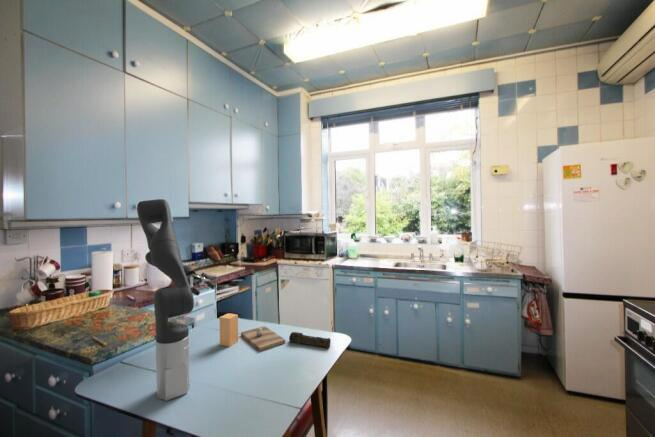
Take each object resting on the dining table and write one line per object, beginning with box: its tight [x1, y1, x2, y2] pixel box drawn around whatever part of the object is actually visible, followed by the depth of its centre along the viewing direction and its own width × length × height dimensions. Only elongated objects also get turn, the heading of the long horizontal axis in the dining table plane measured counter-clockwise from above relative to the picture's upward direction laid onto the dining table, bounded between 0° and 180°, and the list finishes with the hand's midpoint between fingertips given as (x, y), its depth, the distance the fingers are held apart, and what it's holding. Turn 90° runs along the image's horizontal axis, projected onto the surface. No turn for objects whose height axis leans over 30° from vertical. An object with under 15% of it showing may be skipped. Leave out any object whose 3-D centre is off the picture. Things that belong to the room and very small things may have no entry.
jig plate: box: [240, 325, 286, 352], centre depth 128 cm, size 20×12×5 cm, turn 39°
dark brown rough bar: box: [288, 331, 331, 350], centre depth 123 cm, size 19×4×5 cm, turn 69°
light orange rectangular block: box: [219, 313, 239, 347], centre depth 124 cm, size 5×5×12 cm
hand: (206, 290), depth 124 cm, fingers open, 8 cm apart
